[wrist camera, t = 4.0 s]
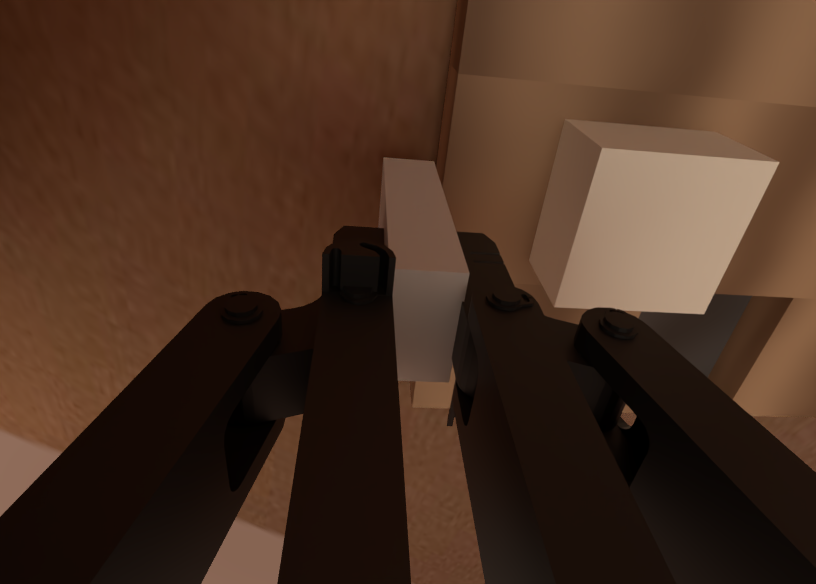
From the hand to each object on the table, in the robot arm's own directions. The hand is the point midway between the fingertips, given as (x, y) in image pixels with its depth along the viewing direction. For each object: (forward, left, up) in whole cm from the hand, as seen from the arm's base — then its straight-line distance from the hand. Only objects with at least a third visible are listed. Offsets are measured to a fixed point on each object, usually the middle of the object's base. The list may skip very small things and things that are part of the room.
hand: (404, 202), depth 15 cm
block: (+7, 0, -1) cm, 7 cm away
